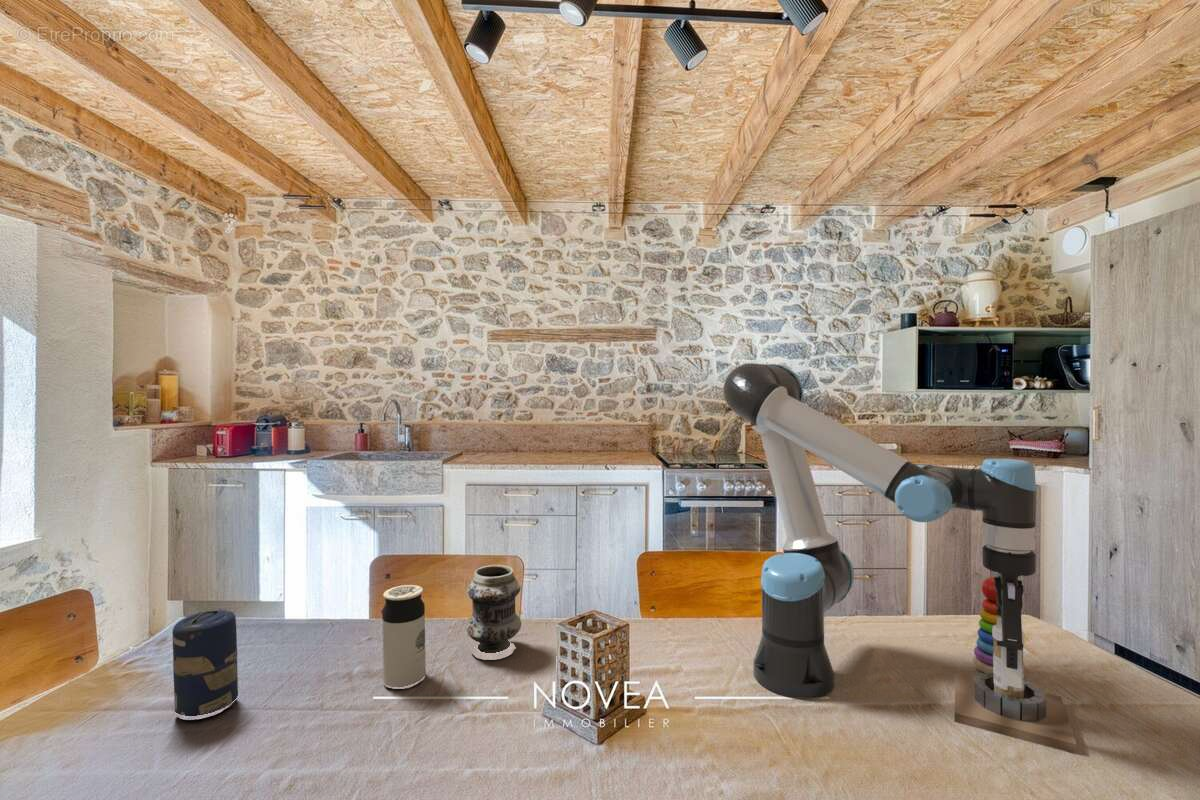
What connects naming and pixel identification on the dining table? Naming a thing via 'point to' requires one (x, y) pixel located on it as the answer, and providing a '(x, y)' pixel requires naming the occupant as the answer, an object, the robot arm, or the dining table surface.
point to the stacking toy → (986, 628)
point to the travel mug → (403, 636)
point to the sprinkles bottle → (998, 686)
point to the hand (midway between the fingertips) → (1008, 668)
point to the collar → (1010, 700)
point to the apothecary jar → (493, 607)
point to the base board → (1043, 732)
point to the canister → (205, 662)
